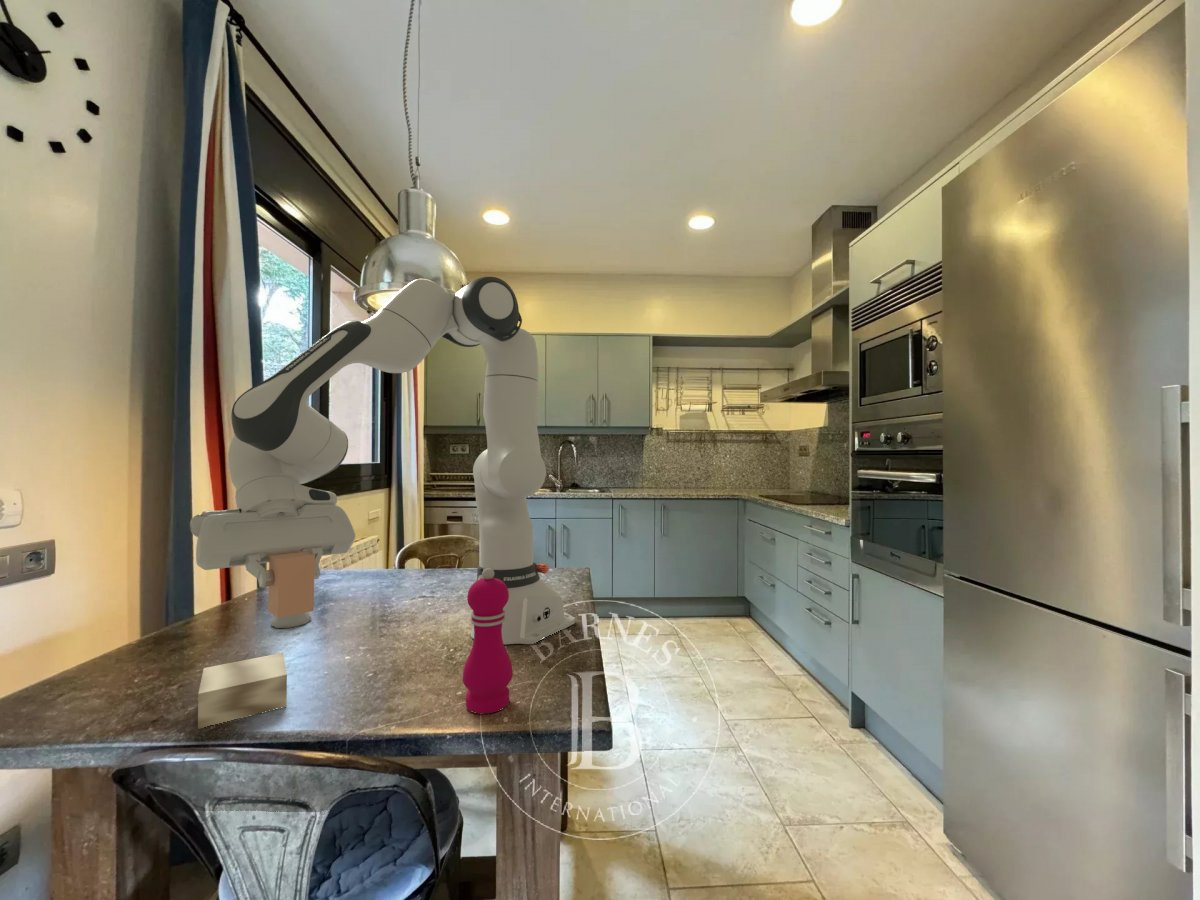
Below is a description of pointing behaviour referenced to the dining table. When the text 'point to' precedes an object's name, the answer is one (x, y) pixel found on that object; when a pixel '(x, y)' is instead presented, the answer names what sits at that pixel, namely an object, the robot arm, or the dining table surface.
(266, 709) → the birch block
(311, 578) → the terracotta block
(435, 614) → the dining table surface
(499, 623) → the pepper mill
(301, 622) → the flask
